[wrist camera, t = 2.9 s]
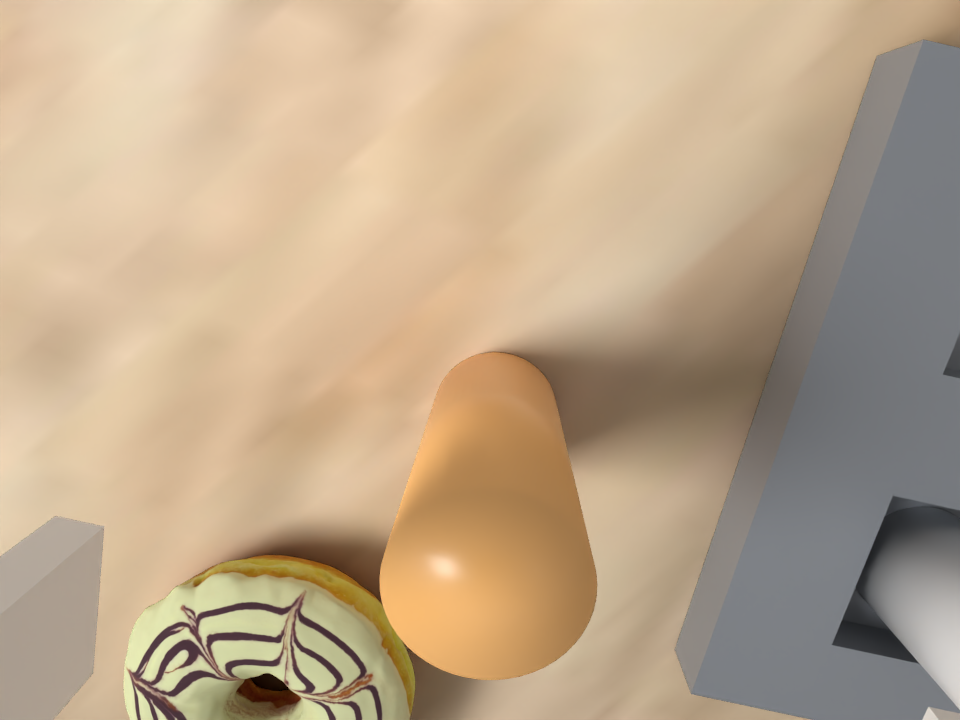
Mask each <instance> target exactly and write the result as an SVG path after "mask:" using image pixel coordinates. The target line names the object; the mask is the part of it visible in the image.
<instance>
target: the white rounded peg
mask: <svg viewBox="0 0 960 720" xmlns="http://www.w3.org/2000/svg"><path fill="white" fill-rule="evenodd" d="M856 590H857V591H858V593H859V594H860V596H861V597H862V598H863V599H864V600H865V601H866V602H867V604H868V605H869V606H870V607H871V608H872V609H873V610H874V612H875V613H876V614H877V615H878V616H879V617H880V619H881V620H882V621H883V622H884V623H885V624H886V625H887V627H888V628H889V629H890V630H891V631H892V632H893V634H894V635H895V636H896V637H897V638H898V639H899V640H900V642H901V643H902V644H903V645H904V646H905V647H906V648H907V650H908V651H909V652H910V653H911V654H912V655H913V657H914V658H915V659H916V660H917V661H918V662H919V663H920V665H921V666H922V667H923V668H924V669H925V670H926V672H927V673H928V674H929V675H930V676H931V677H932V678H933V680H934V681H935V682H936V683H937V684H938V685H939V686H940V688H941V689H942V690H943V691H944V692H945V693H946V695H947V696H948V697H949V698H950V699H951V700H952V701H953V703H954V704H955V705H956V706H957V707H958V708H959V710H960V519H959V518H958V517H956V516H954V515H953V514H951V513H949V512H947V511H944V510H941V509H938V508H933V507H911V508H905V509H902V510H898V511H895V512H893V513H891V514H888V515H886V516H885V517H884V519H883V521H882V524H881V526H880V528H879V531H878V533H877V536H876V538H875V541H874V543H873V546H872V548H871V550H870V553H869V555H868V558H867V560H866V563H865V565H864V568H863V570H862V572H861V575H860V577H859V580H858V582H857V585H856Z"/></svg>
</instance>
